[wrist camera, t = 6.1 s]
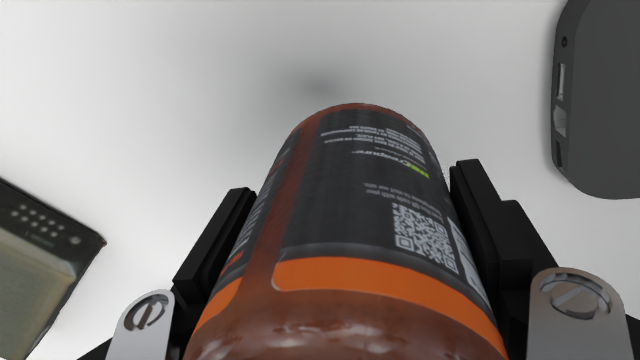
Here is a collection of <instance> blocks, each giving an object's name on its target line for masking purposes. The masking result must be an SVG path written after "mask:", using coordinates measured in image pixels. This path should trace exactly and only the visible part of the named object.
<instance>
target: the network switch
mask: <svg viewBox="0 0 640 360" xmlns="http://www.w3.org/2000/svg"><path fill="white" fill-rule="evenodd" d="M106 245H107V243H106V242H105V241H104V240H103V239H102V238H101V237H100V236H99V235H98V234H96V233H93V232H91V231H90V230H88V229H87V228H85V227H83V226H81V225H79V224H77V223H76V222H74V221H72V220H70V219H67V218H65V217H63V216H61V215H59V214H57V213H55V212H54V211H52V210H50V209H47V208H45V207H44V206H42V205H40V204H39V203H37V202H35V201H33V200H32V199H30V198H28V197H27V196H25V195H23V194H21V193H20V192H18V191H16V190H14V189H12V188H10V187H8V186H7V185H5V184H3V183H1V182H0V357H1V358H4V359H6V360H26V358H27V357H28V356H29V355H30V353H31V352H32V351H33V350H34V348H35V347H36V346H37V345H38V344H39V342H40V341H41V340H42V338H43V337H44V336H45V334H46V333H47V332H48V330H49V329H50V328H51V326H52V324H53V323H54V321H55V319H56V317H57V315H58V314H59V311H60V310H61V308H62V307H63V306H64V305H65V303H66V302H67V300H68V299H69V297H70V295H71V293H72V292H73V290H74V289H75V287H76V285H77V284H78V282H79V281H80V279H81V278H82V276H83V275H84V273H85V272H86V270H87V268H88V267H89V265H90V264H91V262H92V261H93V259H94V257H95V256H96V255H97V254H98V253H99V251H100V250H101V248H102V247H104V246H106Z"/></svg>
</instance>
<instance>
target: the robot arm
mask: <svg viewBox="0 0 640 360" xmlns="http://www.w3.org/2000/svg"><path fill="white" fill-rule="evenodd" d="M450 195H451V198H452V200H453V203H454V206H455V210H456V212H457V215H458V217H459V220H460V223H461V226H462V229H463V231H464V233H465V236H466V239H467V242H468V246H469V248H470V251H471V253H472V257H473V260H474V262H475V265H476V268H477V271H478V274H479V276H480V279H481V281H482V285H483V287H484V289H485V292H486V295H487V298H488V301H489V304H490V307H491V310H492V312H493V314H494V316H495V319H496V322H497V326H498V330H499V333H500V335H501V336H502V338H503V343H504V347H505V350H506V352H507V355H508V358H509V360H640V320H638V319H636V318H634V317H631V316H629V315H627V314H625V310H624V305H623V303H622V300H621V298H620V296H619V294H618V293H617V292H616V291H615V290H614V289H613V288H612V286H611V285H609V284H608V283H606V282H605V281H603V280H602V279H601V278H599V277H597V276H595V275H592V274H590V273H588V272H586V271H582V270H578V269H574V268H565V267H559V266H558V264H557V263H556V261H555V260H554V258H553V256H552V255H551V253H550V252H549V250H548V248H547V247H546V245H545V244H544V242H543V240H542V239H541V237H540V236H539V234H538V232H537V231H536V229H535V228H534V226H533V225H532V223H531V221H530V220H529V218H528V217H527V215H526V213H525V212H524V210H523V209H522V207H521V205H520V204H519V203H518V202H517V201H516V200H506V201H502V200H501V199H500V197H499V195H498V193H497V192H496V190H495V188H494V186H493V184H492V183H491V181H490V179H489V177H488V175H487V174H486V172H485V170H484V168H483V167H482V165H481V163H480V161H479V160H478V159H469V160H461V161H457V162H456V166H452V167H450ZM256 199H257V195H256V193H255V191H251V190H250V189H249V188H248V187H243V188H235V189H230V190H229V192H228V193H227V195H226V196H225V198H224V199H223V201H222V203H221V204H220V206H219V207H218V209H217V210H216V212H215V214H214V215H213V217H212V218H211V220H210V221H209V223H208V225H207V226H206V228H205V229H204V231H203V232H202V234H201V236H200V237H199V239H198V240H197V242H196V243H195V245H194V247H193V248H192V250H191V251H190V253H189V254H188V256H187V258H186V259H185V261H184V262H183V264H182V265H181V267H180V269H179V270H178V272H177V273H176V275H175V276H174V278H173V280H172V282H173V283H174V285H173V286H172V288H171V290H170V291H169V290H166V289H159V290H155V291H151V292H149V293H146V294H144V295H142V296H141V297H139V298H138V299H136V300H135V301H134V302H133V303H131V304H130V305H129V306H128V307H127V308H126V310H125V311H124V312H123V313H122V315H121V317H120V319H119V321H118V323H117V326H116V329H115V332H114V335H113V337H112V338H110V339H109V340H107V341H106V342H104V343H102V344H101V345H99V346H98V347H96V348H94V349H93V350H91V351H90V352H88V353H87V354H85V355H83V356H82V357H80V358H79V359H77V360H183V357H184V354H185V351H186V347H187V345H188V343H189V340H190V338H191V336H192V334H193V332H194V330H195V327H196V325H197V323H198V321H199V319H200V317H201V315H202V313H203V311H204V309H205V307H206V305H207V302H208V300H209V298H210V295H211V292H212V290H213V288H214V287H215V284H216V283H217V281H218V278H219V275H220V273H221V271H222V269H223V267H224V265H225V263H226V261H227V259H228V257H229V255H230V253H231V251H232V249H233V247H234V245H235V243H236V241H237V238H238V236H239V234H240V232H241V230H242V228H243V226H244V224H245V222H246V219H247V217H248V215H249V213H250V211H251V209H252V207H253V205H254V202H255V201H256Z"/></svg>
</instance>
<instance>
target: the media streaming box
mask: <svg viewBox="0 0 640 360" xmlns="http://www.w3.org/2000/svg"><path fill="white" fill-rule="evenodd" d="M557 73H558V75H557ZM556 89H557V91H556ZM551 144H552V159H553V162H554V164H555V166H556V167H557V169H558V170H559V171H560V172H561V173H562V174H563V175H564V176H565V177H566V178H567V179H568V180H569V181H570V182H571V183H572V184H573V185H574V186H575V187H576V188H577V189H578V190H580V191H581V192H583V193H585V194H587V195H590V196H593V197H597V198H602V199H612V200H617V199H632V198H640V0H569V1H568V3H567V5H566V6H565V8H564V10H563V12H562V14H561V17H560V19H559V22H558V25H557V29H556V36H555V47H554V59H553V74H552V94H551Z"/></svg>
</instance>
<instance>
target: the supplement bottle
mask: <svg viewBox="0 0 640 360" xmlns="http://www.w3.org/2000/svg"><path fill="white" fill-rule="evenodd" d="M183 360H509V358H508V355H507V352H506V350H505V347H504V343H503V338H502V336H501V335H500V333H499V330H498V326H497V322H496V319H495V316H494V314H493V312H492V310H491V307H490V304H489V301H488V298H487V295H486V292H485V289H484V287H483V285H482V281H481V279H480V276H479V274H478V271H477V268H476V265H475V262H474V260H473V257H472V253H471V251H470V248H469V246H468V242H467V239H466V236H465V233H464V231H463V229H462V226H461V223H460V220H459V217H458V215H457V212H456V210H455V206H454V203H453V200H452V198H451V195H450V192H449V190H448V187H447V184H446V182H445V179H444V176H443V173H442V170H441V167H440V164H439V162H438V159H437V157H436V154H435V152H434V150H433V149H432V147H431V145H430V143H429V141H428V139H427V138H426V137H425V135H424V133H423V132H422V131H421V130H420V129H419V128H418V127H416V126H415V125H414V124H413V123H412V122H411V121H409V120H408V119H406V118H405V117H404V116H403V115H401V114H398V113H396V112H394V111H392V110H390V109H387V108H384V107H380V106H377V105H372V104H364V103H349V104H341V105H337V106H332V107H330V108H327V109H324V110H322V111H319V112H317V113H315V114H314V115H312V116H310V117H308V118H307V119H305V120H304V121H302V122H301V123H300V124H299V125H298V126H297V127H296V128H295V129H294V130H293V131H292V132H291V134H290V135H289V137H288V138H287V140H286V141H285V143H284V145H283V146H282V148H281V149H280V151H279V153H278V155H277V157H276V159H275V161H274V163H273V165H272V167H271V169H270V171H269V174H268V176H267V178H266V180H265V182H264V185H263V187H262V188H261V190H260V192H259V195H258V197H257V199H256V201H255V202H254V205H253V207H252V209H251V211H250V213H249V215H248V217H247V219H246V222H245V224H244V226H243V228H242V230H241V232H240V234H239V236H238V238H237V241H236V243H235V245H234V247H233V249H232V251H231V253H230V255H229V257H228V259H227V261H226V263H225V265H224V267H223V269H222V271H221V273H220V275H219V278H218V281H217V283H216V284H215V287H214V288H213V290H212V292H211V295H210V298H209V300H208V302H207V305H206V307H205V309H204V311H203V313H202V315H201V317H200V319H199V321H198V323H197V325H196V327H195V330H194V332H193V334H192V336H191V338H190V340H189V343H188V345H187V347H186V351H185V354H184V357H183Z"/></svg>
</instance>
